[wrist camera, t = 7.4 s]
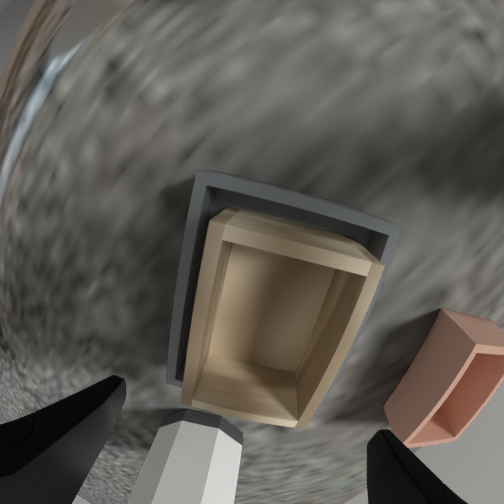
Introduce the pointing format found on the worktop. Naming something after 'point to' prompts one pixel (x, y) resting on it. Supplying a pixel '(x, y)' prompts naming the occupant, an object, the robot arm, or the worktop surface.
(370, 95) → the worktop surface
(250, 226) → the birch crate
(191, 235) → the charcoal crate
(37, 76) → the worktop surface
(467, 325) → the terracotta crate
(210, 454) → the wine bottle
